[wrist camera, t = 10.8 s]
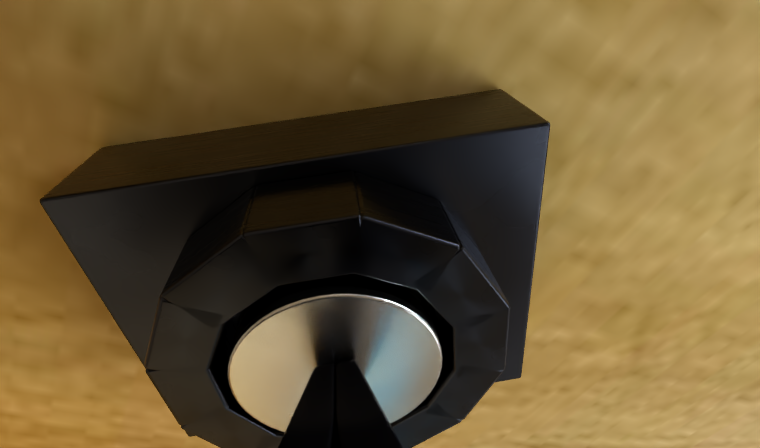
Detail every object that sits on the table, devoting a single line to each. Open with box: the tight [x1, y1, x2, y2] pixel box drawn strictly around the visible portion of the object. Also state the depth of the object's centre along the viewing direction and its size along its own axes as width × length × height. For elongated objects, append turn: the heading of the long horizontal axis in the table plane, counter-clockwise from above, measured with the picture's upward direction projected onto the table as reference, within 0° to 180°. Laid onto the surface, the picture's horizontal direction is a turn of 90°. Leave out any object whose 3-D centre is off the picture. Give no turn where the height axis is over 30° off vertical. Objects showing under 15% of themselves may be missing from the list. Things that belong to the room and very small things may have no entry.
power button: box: [227, 274, 443, 432], centre depth 9 cm, size 4×4×2 cm
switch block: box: [40, 89, 550, 448], centre depth 11 cm, size 10×8×4 cm
